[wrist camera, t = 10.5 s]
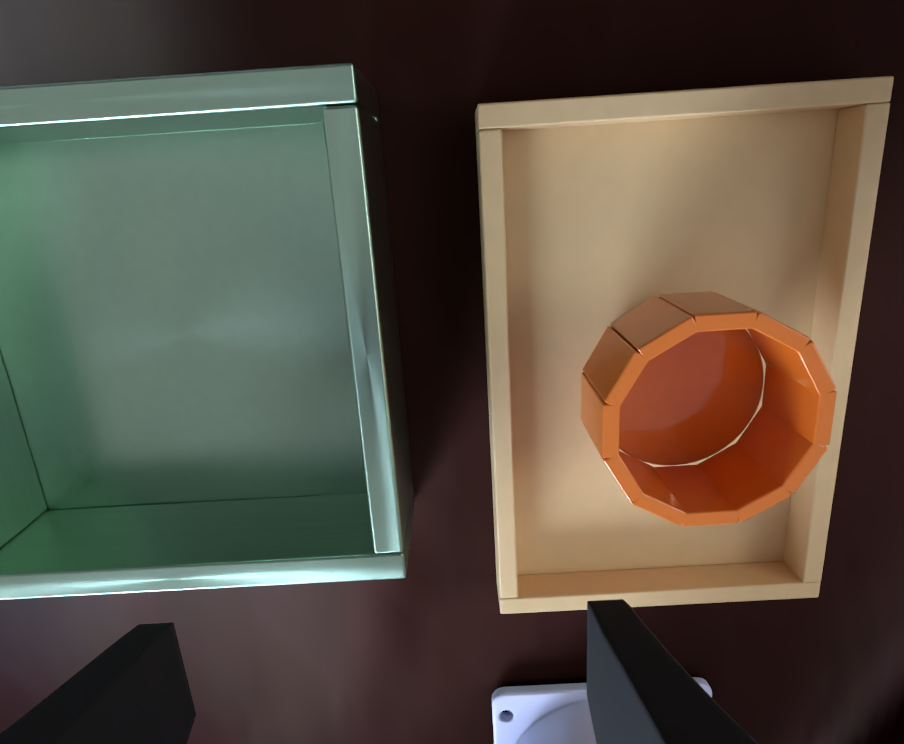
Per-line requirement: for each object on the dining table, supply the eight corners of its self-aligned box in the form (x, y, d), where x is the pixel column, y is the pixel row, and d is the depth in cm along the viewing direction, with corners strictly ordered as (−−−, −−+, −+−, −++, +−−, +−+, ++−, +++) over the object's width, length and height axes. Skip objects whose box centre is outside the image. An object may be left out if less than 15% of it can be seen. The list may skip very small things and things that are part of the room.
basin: (414, 501, 20) (405, 579, 16) (43, 522, 20) (-54, 603, 16) (377, 89, 16) (353, 61, 12) (-80, 121, 17) (-244, 102, 13)
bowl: (736, 443, 19) (820, 520, 15) (567, 452, 19) (601, 531, 15) (751, 274, 17) (849, 305, 13) (566, 286, 17) (604, 320, 13)
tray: (790, 565, 21) (819, 598, 19) (496, 581, 21) (500, 614, 19) (851, 85, 16) (895, 75, 15) (474, 111, 16) (477, 103, 15)
